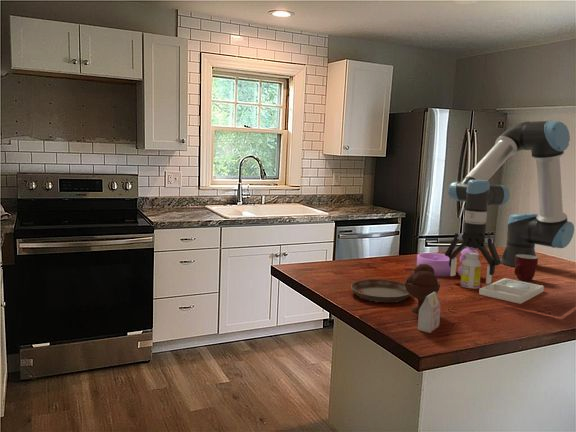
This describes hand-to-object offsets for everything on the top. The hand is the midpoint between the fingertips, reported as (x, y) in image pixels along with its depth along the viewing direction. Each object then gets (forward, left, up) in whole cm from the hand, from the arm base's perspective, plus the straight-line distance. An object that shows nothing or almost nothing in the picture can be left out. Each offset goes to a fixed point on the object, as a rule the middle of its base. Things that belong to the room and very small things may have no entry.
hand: (470, 279), depth 185 cm
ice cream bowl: (+39, +2, -3) cm, 39 cm away
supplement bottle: (0, 0, -3) cm, 3 cm away
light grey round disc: (-8, +14, -2) cm, 17 cm away
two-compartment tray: (-3, +14, -3) cm, 15 cm away
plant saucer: (+34, -16, -4) cm, 38 cm away
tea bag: (+50, +11, -4) cm, 51 cm away
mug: (-25, +10, -3) cm, 27 cm away
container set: (-13, -16, -4) cm, 21 cm away
